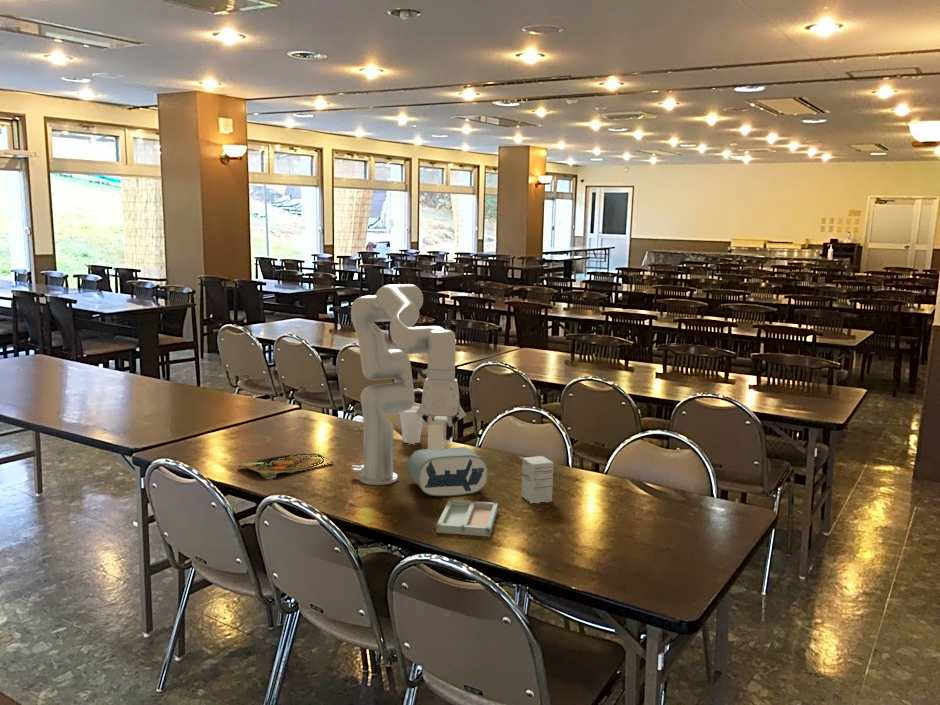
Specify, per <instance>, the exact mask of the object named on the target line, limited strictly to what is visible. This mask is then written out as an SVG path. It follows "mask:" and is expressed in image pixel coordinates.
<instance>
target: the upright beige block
mask: <svg viewBox="0 0 940 705" xmlns="http://www.w3.org/2000/svg"><path fill="white" fill-rule="evenodd" d="M447 426H448V420H447V416H434V419H433V420H432V421H431V422H430V423H429V424H428V425H427V449H428V450H436V451H443V449H446V446H447V445H448V444H449V442H450V441H451V440H452V439H453V436H452V437H451V438H450V440H449V441H448V440H446V427H447Z"/></svg>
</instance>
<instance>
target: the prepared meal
mask: <svg viewBox="0 0 940 705" xmlns="http://www.w3.org/2000/svg"><path fill="white" fill-rule="evenodd" d="M295 454H296V455H294V454H287V455H278V456H273V457H266V458H260V459H252V460H247V461H245V462H244V463H241V464H238V467H240V468H247V469H249V470H252V471H253V472H254V471H255V472H258V473H259V474H260V476H262V477H263V478H264V477H266V478H269V477H270V476H271V477H275V478H277V474H280V473H289V474H290V473H296V472H299V471H303V470H305V471H307V470H306V469H309V468H312V467H314V466H317V465H319V464H322V463H323V462H324V459H323V458H326V459H328V458H327V457H325V456H323V455H321V454H319V453H316V452H315V453H314V452H311V454H305V453H295ZM297 455H310V457H312V456H313V457H317V456H318V457H321V458H322V457H323V458H322V459H323V461H322V462H321V463H320V461H321V460H319V459H315V460H314V462H311V464H309V463H307V462H306V461H305V460H304V462H303V460H301V457H299V456H297ZM284 457H285V459H280V460H278V459H279V458H284ZM287 457H288V458H287ZM306 457H307V456H306ZM273 460H274V462H272V465H271V466H270V465H266V464H269V463H270V462H271V461H273ZM305 462H306V463H305ZM299 463H303V464H304V463H305V465H307V466H308V467H305V465H302V464H301V465H298V466H301V467H305V468H301V467H299V468H296V465H297V464H299ZM318 463H319V464H318ZM330 463H331V464H334V463H335V462H334V461H332V460H331V462H330ZM314 464H316V465H314ZM327 464H328V463H327ZM331 464H330V465H331ZM310 465H313V466H310ZM324 465H325V464H324ZM321 466H323V465H321ZM323 467H324V466H323ZM286 468H289V469H286ZM295 468H296V469H295ZM303 472H304V471H303Z"/></svg>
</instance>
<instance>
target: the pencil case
mask: <svg viewBox="0 0 940 705" xmlns="http://www.w3.org/2000/svg"><path fill="white" fill-rule="evenodd" d="M407 470H408V473H409V476H410V477H411V478H412V479H413V480H414V481H415V483H416V484H417V485H418V486H419V488H420V490H421V491H422V492H423V493H424V494H426V495H428V496H433V497H455V496H465V495H470V494H474V493H477V492H481V490H482V489H484V487H485V486H486V484H488V483H487V482H488V479H489V470H488V466H487V463H486V461H485V460H484V459H483V458H482V457H480V456H479V455H478V454H477V453H476V452H474V451H473V450H472V449H471V448H468V447H466V446H460V447H457V446H456V447H450V448H449V447H448V448H446V447H445V448H444V449H443V451H436V450H428V448H425V449H424V448H423V449H418V450H416V451H414V452H413V453H412V454H411V455H410V456H409V459H408V462H407Z"/></svg>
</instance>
